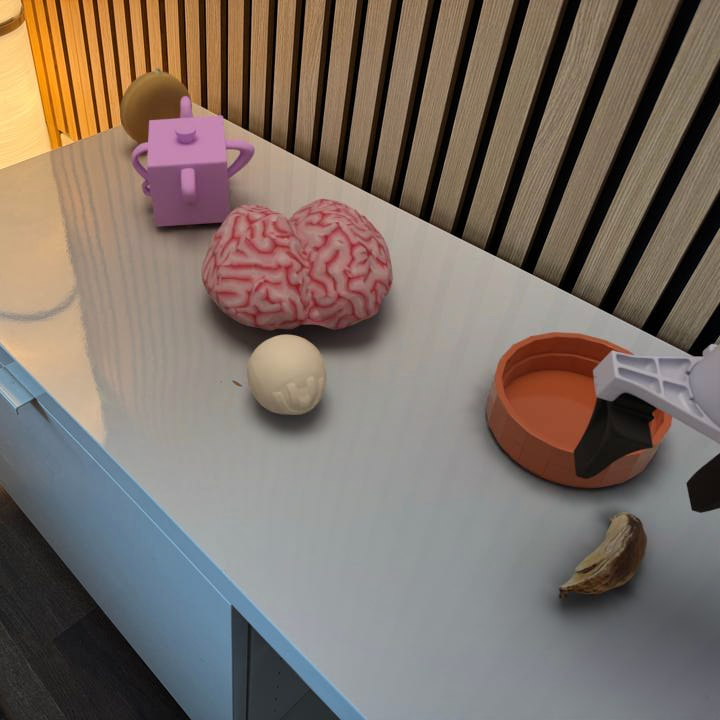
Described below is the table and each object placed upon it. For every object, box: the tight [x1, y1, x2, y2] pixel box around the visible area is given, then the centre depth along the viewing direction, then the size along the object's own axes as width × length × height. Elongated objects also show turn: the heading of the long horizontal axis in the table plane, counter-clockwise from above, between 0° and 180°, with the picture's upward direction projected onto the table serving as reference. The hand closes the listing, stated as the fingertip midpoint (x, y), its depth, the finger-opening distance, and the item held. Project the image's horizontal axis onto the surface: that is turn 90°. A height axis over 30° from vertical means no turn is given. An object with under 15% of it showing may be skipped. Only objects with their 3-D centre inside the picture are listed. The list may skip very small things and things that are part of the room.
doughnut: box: [119, 67, 193, 145], centre depth 96 cm, size 9×4×10 cm, turn 122°
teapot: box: [130, 96, 256, 228], centre depth 87 cm, size 18×14×10 cm
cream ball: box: [246, 334, 327, 416], centre depth 65 cm, size 7×7×7 cm
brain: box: [201, 198, 394, 331], centre depth 74 cm, size 19×18×10 cm
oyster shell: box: [558, 511, 648, 599], centre depth 54 cm, size 6×4×10 cm
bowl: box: [485, 331, 673, 489], centre depth 63 cm, size 14×14×4 cm
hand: (636, 481), depth 48 cm, fingers open, 7 cm apart
